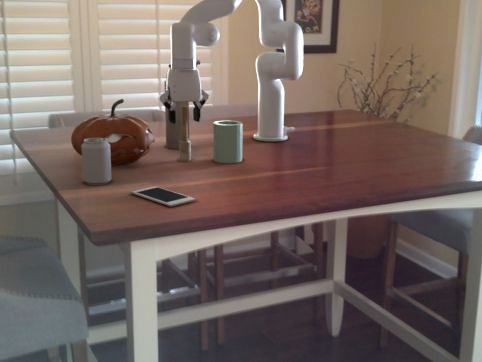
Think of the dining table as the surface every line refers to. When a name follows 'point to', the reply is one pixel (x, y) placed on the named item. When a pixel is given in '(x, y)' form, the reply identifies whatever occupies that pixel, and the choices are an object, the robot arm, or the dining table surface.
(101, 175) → the can
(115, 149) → the pumpkin
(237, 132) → the sage green cup
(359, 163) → the dining table surface
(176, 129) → the thermos bottle
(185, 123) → the brush
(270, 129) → the robot arm
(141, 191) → the cell phone
